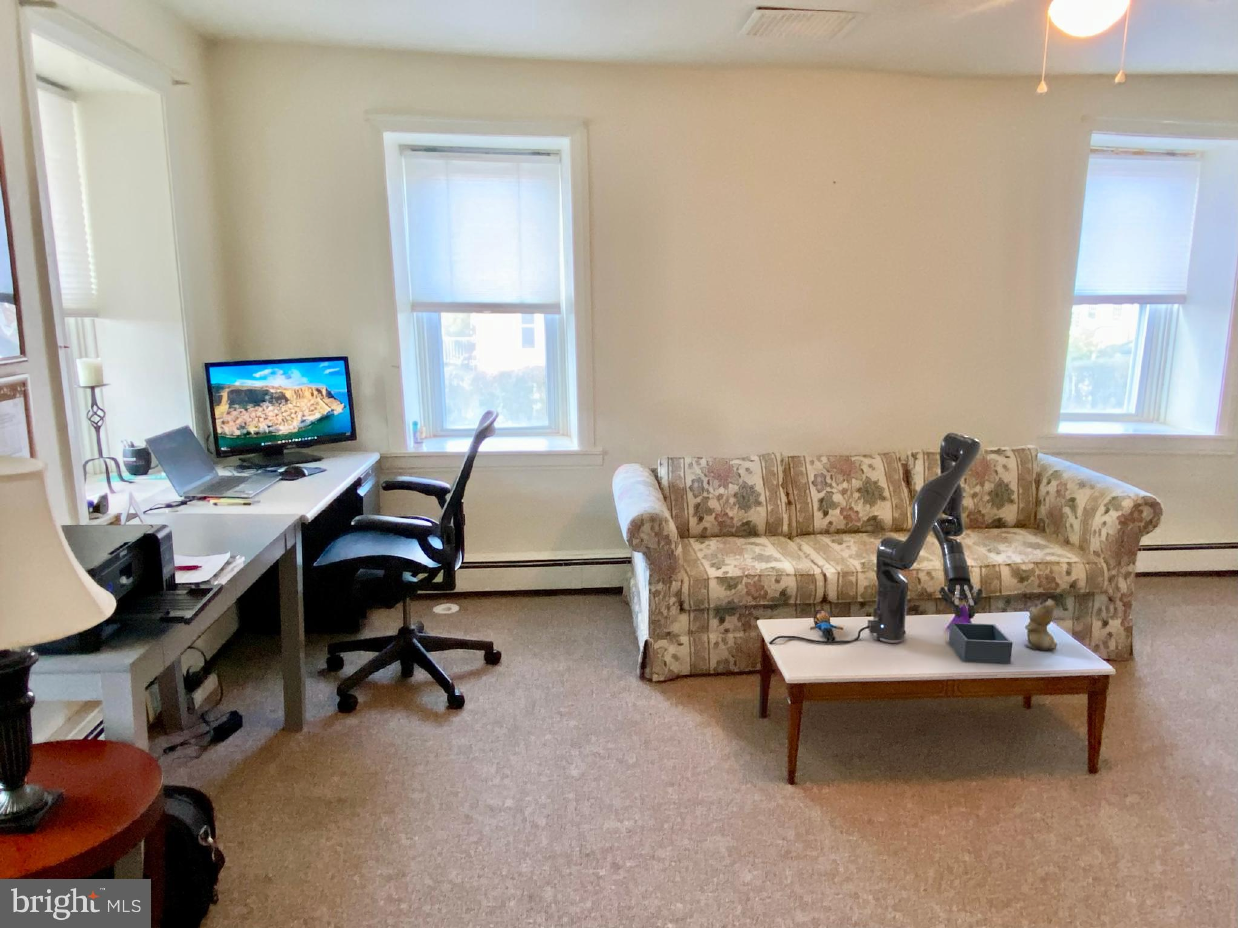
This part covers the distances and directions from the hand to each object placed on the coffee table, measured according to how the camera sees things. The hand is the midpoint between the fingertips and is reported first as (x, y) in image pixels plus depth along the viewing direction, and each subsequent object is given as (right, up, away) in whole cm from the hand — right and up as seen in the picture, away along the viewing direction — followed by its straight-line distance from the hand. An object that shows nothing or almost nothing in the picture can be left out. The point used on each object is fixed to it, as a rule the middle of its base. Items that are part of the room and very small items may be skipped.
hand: (965, 617), depth 245 cm
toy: (-45, -6, +3) cm, 45 cm away
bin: (-1, -9, -11) cm, 14 cm away
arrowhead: (0, -6, +3) cm, 7 cm away
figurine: (+20, -8, -6) cm, 23 cm away
